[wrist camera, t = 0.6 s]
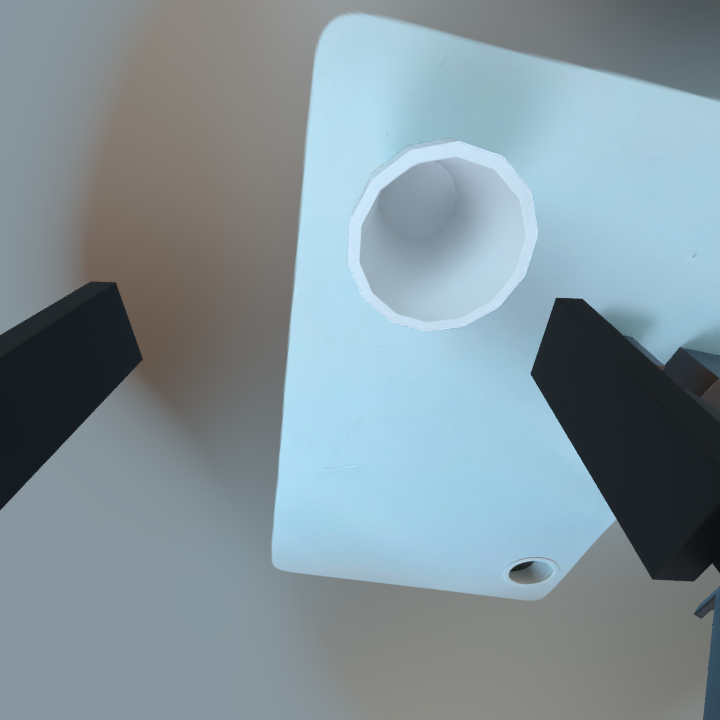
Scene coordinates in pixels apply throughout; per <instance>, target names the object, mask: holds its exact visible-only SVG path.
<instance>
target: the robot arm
mask: <svg viewBox="0 0 720 720" xmlns="http://www.w3.org/2000/svg"><path fill="white" fill-rule="evenodd" d="M142 360H143V358H142V355H141V353H140V350H139V347H138V344H137V341H136V339H135V336H134V333H133V330H132V327H131V325H130V321H129V319H128V316H127V313H126V310H125V307H124V305H123V302H122V299H121V296H120V293H119V290H118V288H117V285H116V283H115V282H114V283H113V282H90V283H88V284H86V285H84V286H83V287H81V288H79V289H77V290H76V291H74V292H72V293H71V294H69V295H67V296H66V297H64V298H62V299H61V300H59V301H57V302H55V303H54V304H52V305H50V306H49V307H47V308H45V309H44V310H42V311H40V312H38V313H37V314H35V315H33V316H32V317H30V318H29V319H27V320H25V321H23V322H22V323H20V324H18V325H17V326H15V327H13V328H11V329H10V330H8V331H6V332H5V333H3V334H1V335H0V510H1V509H2V508H3V507H4V506H5V505H6V504H7V503H8V501H9V500H10V499H11V498H12V497H13V496H14V495H15V494H16V493H17V492H18V491H19V490H20V489H21V488H22V487H23V486H24V484H25V483H26V482H27V481H28V480H29V479H30V478H31V477H32V476H33V475H34V474H35V473H36V472H37V471H38V470H39V468H41V466H42V465H43V464H44V463H45V462H46V461H47V460H48V459H49V458H50V457H51V456H52V455H53V454H54V453H55V452H56V451H57V450H58V449H59V447H60V446H61V445H62V444H63V443H64V442H65V441H66V440H67V439H68V438H69V437H70V436H71V435H72V434H73V433H74V432H75V430H77V428H78V427H79V426H80V425H81V424H82V423H83V422H84V421H85V420H86V419H87V418H88V417H89V416H90V415H91V414H92V412H94V410H95V409H96V408H97V407H98V406H99V405H100V404H101V403H102V402H103V401H104V400H105V399H106V398H107V397H108V396H109V395H110V394H111V392H112V391H113V390H114V389H115V388H116V387H117V386H118V385H119V384H120V383H121V382H122V381H123V380H124V379H125V377H126V376H128V374H129V373H130V372H131V371H132V370H133V369H134V368H135V367H136V366H137V365H138V364H139V363H140V362H141V361H142ZM531 376H532V377H533V379H534V381H535V382H536V384H537V386H538V387H539V389H540V391H541V392H542V394H543V396H544V397H545V399H546V401H547V403H548V404H549V406H550V408H551V409H552V411H553V413H554V414H555V416H556V418H557V419H558V421H559V423H560V424H561V426H562V428H563V430H564V431H565V433H566V435H567V436H568V438H569V440H570V441H571V443H572V445H573V446H574V448H575V450H576V451H577V453H578V455H579V456H580V458H581V460H582V462H583V463H584V465H585V467H586V468H587V470H588V472H589V473H590V475H591V477H592V478H593V480H594V482H595V483H596V485H597V487H598V488H599V490H600V492H601V494H602V495H603V497H604V499H605V500H606V502H607V504H608V505H609V507H610V509H611V510H612V512H613V514H614V515H615V517H616V519H617V520H618V522H619V524H620V526H621V527H622V529H623V530H624V532H625V534H626V536H627V537H628V539H629V541H630V542H631V544H632V546H633V547H634V549H635V551H636V552H637V554H638V556H639V557H640V559H641V561H642V563H643V564H644V566H645V568H646V569H647V571H648V573H649V574H650V576H651V578H652V579H654V580H675V581H695V580H696V579H697V578H698V577H699V576H700V575H701V574H702V573H703V572H704V571H705V570H706V569H707V568H708V567H709V566H710V565H711V564H712V563H713V565H714V566H715V567H716V569H717V570H718V571H719V573H720V411H719V410H718V409H717V408H715V407H714V406H713V405H712V404H710V403H709V402H707V401H705V400H703V399H702V398H700V397H698V396H696V395H695V394H693V393H691V392H689V391H688V390H686V389H682V388H681V387H680V386H679V385H678V384H676V383H675V382H674V381H673V380H672V379H671V378H670V377H669V376H668V375H666V374H665V373H664V372H663V371H662V370H661V369H660V368H659V367H658V366H656V365H655V364H654V363H653V362H652V361H651V360H650V359H649V358H648V357H646V356H645V355H644V354H643V353H642V352H641V351H640V350H639V349H638V348H636V347H635V346H634V345H633V344H632V343H631V342H630V341H629V340H628V339H626V338H625V337H624V336H623V335H622V334H621V333H620V332H619V331H618V330H616V329H615V328H614V327H613V326H612V325H611V324H610V323H609V322H608V321H606V320H605V319H604V318H603V317H602V316H601V315H600V314H599V313H598V312H596V311H595V310H594V309H593V308H592V307H591V306H590V305H589V304H588V303H586V302H585V301H584V300H583V299H574V298H556V300H555V303H554V306H553V309H552V312H551V315H550V318H549V321H548V324H547V327H546V329H545V332H544V335H543V338H542V341H541V344H540V347H539V350H538V353H537V356H536V359H535V362H534V365H533V368H532V371H531ZM711 610H714V617H713V624H712V626H713V627H712V637H711V647H710V657H709V667H708V677H707V687H706V697H705V706H704V717H703V720H720V587H718V588H717V589H716V590H715V591H714V592H713V593H712V594H711V595H710V596H709V597H708V598H707V599H705V600H704V601H703V602H702V603H701V604H700V605H699V606H698V607H697V609H696V611H695V613H694V614H695V615H696V616H698V617H699V618H702V617H704V616H705V615H706V614H707V613H708V612H709V611H711Z"/></svg>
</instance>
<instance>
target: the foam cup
mask: <svg viewBox="0 0 720 720" xmlns="http://www.w3.org/2000/svg"><path fill="white" fill-rule="evenodd" d="M537 237H538V228H537V222H536V215H535V209H534V202H533V196H532V191H531V189H530V188H529V187H528V186H527V184H526V183H525V182H524V181H523V180H522V178H521V177H520V176H519V175H518V173H517V172H516V171H515V170H514V168H513V167H512V166H511V165H510V164H509V162H508V161H507V160H506V159H505V157H504V156H502V155H499V154H496V153H493V152H490V151H487V150H484V149H481V148H478V147H476V146H473V145H470V144H467V143H464V142H461V141H458V140H455V139H452V138H446V139H441V140H436V141H431V142H425V143H420V144H415V145H410V146H406V147H405V148H404V149H402V150H401V151H400V152H398V153H397V154H396V155H395V156H393V157H392V158H391V159H389V160H388V161H387V162H386V163H384V164H383V165H382V166H380V167H379V168H378V169H376V170H375V171H374V172H373V173H371V175H370V177H369V179H368V181H367V183H366V185H365V187H364V189H363V191H362V193H361V195H360V197H359V199H358V201H357V203H356V204H355V206H354V208H353V210H352V213H351V218H350V222H349V247H348V265H349V268H350V270H351V272H352V274H353V277H354V279H355V281H356V283H357V286H358V288H359V290H360V292H361V295H362V297H363V299H364V300H365V301H367V302H368V303H369V304H370V305H371V306H372V307H374V308H375V309H376V310H377V311H378V312H380V313H381V314H382V315H383V316H384V317H385V318H387V319H388V320H389V321H390V322H392V323H396V324H400V325H403V326H407V327H410V328H414V329H418V330H421V331H425V332H428V331H436V330H443V329H451V328H459V327H464V326H466V325H468V324H470V323H472V322H473V321H475V320H477V319H479V318H481V317H482V316H484V315H486V314H488V313H490V312H492V311H493V310H495V309H497V308H499V307H500V305H501V304H502V303H503V302H504V301H505V299H506V298H507V297H508V296H509V295H510V293H511V292H512V291H513V290H514V289H515V288H516V286H517V285H518V284H519V283H520V282H521V280H522V279H523V278H524V277H525V276H526V273H527V269H528V266H529V263H530V260H531V257H532V253H533V250H534V247H535V244H536V241H537Z"/></svg>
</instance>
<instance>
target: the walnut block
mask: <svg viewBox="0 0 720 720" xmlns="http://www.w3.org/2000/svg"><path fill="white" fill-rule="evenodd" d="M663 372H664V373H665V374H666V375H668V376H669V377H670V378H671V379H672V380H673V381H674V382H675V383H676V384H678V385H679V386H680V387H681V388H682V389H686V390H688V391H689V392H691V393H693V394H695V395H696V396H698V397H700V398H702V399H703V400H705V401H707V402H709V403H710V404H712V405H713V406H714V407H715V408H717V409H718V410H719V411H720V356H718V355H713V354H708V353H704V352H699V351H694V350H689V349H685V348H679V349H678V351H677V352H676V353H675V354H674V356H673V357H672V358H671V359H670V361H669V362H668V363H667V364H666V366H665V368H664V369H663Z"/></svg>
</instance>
